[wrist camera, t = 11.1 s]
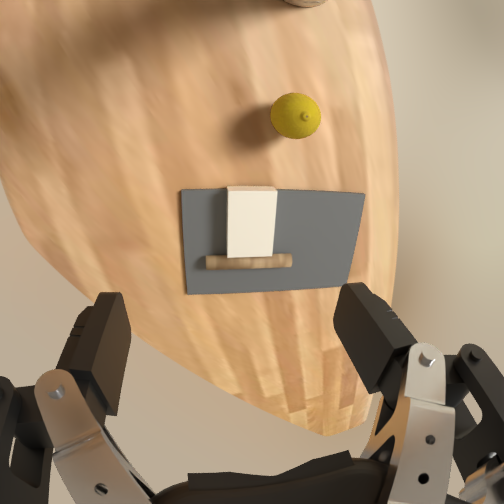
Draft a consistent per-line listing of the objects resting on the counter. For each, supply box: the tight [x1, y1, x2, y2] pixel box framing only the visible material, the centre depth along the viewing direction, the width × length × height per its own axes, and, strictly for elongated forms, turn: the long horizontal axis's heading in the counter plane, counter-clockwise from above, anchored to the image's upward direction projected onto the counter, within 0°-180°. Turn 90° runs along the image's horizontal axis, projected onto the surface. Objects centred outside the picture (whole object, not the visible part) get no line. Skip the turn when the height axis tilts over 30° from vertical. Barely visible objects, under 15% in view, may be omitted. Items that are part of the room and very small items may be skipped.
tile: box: [226, 186, 278, 258], centre depth 37 cm, size 2×6×9 cm
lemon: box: [270, 93, 321, 139], centre depth 29 cm, size 6×6×8 cm
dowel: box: [206, 253, 292, 270], centre depth 40 cm, size 2×12×2 cm, turn 87°
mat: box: [181, 189, 365, 295], centre depth 41 cm, size 16×26×1 cm, turn 87°
